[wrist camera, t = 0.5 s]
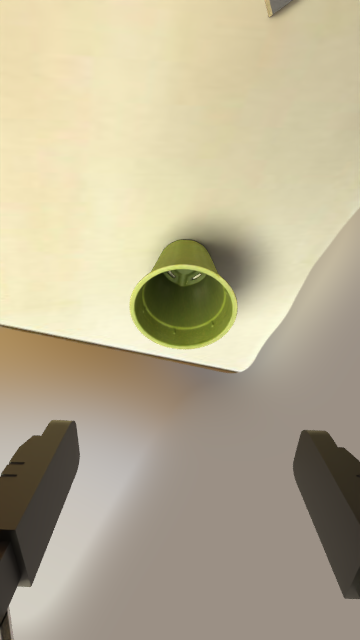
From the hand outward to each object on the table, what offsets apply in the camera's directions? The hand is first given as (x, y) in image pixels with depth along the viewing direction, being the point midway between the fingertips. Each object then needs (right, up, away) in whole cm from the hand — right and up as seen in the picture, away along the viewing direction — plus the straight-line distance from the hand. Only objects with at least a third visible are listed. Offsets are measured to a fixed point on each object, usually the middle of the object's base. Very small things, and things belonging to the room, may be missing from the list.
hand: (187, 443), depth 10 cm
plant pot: (0, +13, +30) cm, 32 cm away
